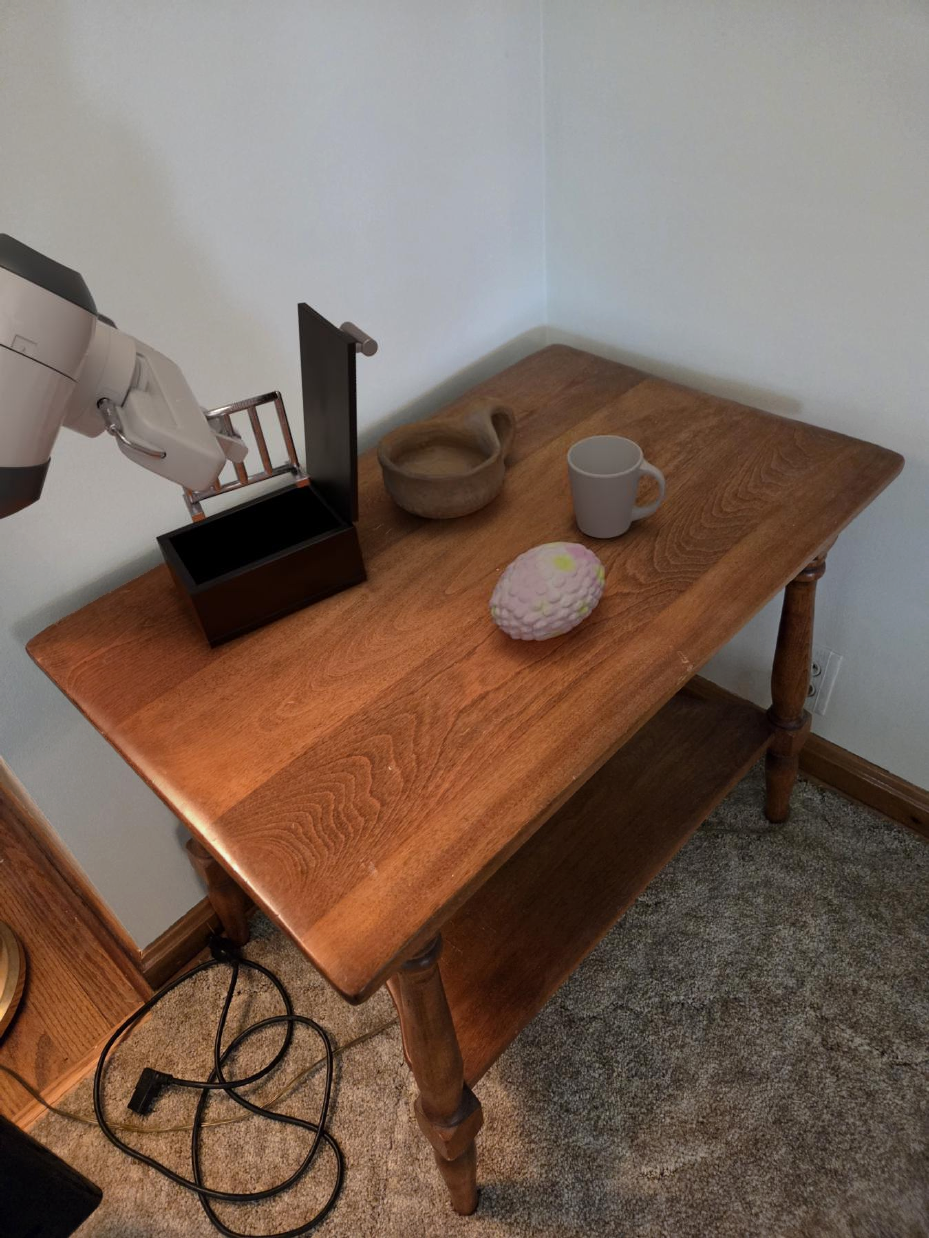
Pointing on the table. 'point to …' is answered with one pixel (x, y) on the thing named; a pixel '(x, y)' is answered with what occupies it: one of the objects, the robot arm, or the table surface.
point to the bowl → (449, 460)
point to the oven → (262, 560)
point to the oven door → (331, 404)
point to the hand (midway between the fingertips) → (240, 447)
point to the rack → (269, 472)
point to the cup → (609, 484)
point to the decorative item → (547, 591)
